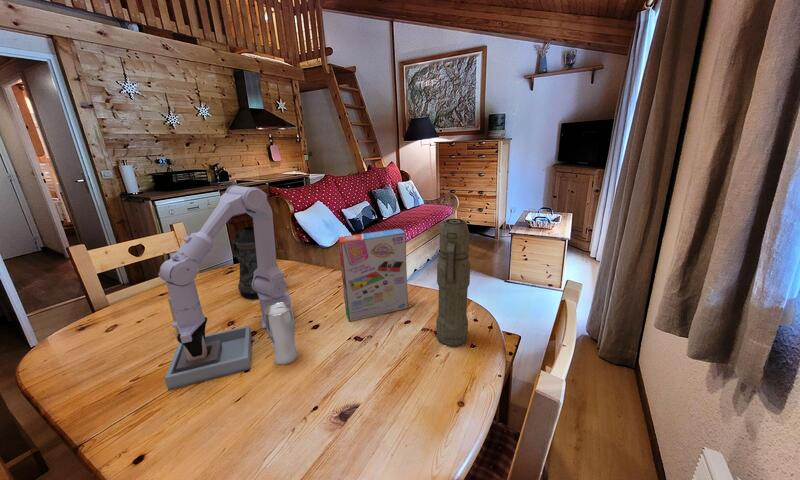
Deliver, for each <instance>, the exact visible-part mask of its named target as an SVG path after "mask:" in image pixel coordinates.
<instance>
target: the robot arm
mask: <svg viewBox="0 0 800 480" xmlns="http://www.w3.org/2000/svg"><path fill="white" fill-rule="evenodd" d="M245 213H246V214H247V215H249V216H250V217H251V218H252V223H253V224H252V225H253V227H254V235H255V245H256V256H257V266H258V268H257V269H256V270H255V271H254V272H253V274H254V277H253V281H252V288H253V290H254V291H255V292H257V294H258V296H259V299H258V301H259V305H260V311H261V329H267V327H266V321H265V309H266V308H267V307H268V306H270V305H272V304H275V303H280V302H286V303H289V304H291V307H292V311H293V314H294V312H295V311H294V307H293V306H292V301H291V299H292V298H291V294H290V291H287V290H288V289H287V288H288V282H287V281H286V279H285V277H284V272H283V271H282V270H281V269H280V267H279V266H278V263H277V255H276V253H277V252H276V242H275V240H276V239H275V229H274V227H275V226H274V217H273V215H274V214H273V208H272V207H271V205H270V203H269V201H268V195H267V193H266V192H265V191H263V190H262V189H260V188H258V187H257V186H251V187H250V186H242V185H241V186H240V185H235V184H234V185H231V186H229V187H228V188H227V189H226V190H225V192H224V193H222V195H221V196H220V199H219V202H218V204H217V205H216V206H215V208H214V210H213V211H212V213H211V214H210V215H209V217H208V218H207V220H206V221H205V222H204V224H203V226H202V227H201V229H200V230H199V231H196V232H192V233H190V235H186V236H184V238H183V241H184V242H183V243H182V245H181V246H180V247H179V248H178V249H177V250H176V251H175V253H172V254H171V256H170V258H169V259H167V260H165V261H164V262H163V263H162V264H161V265H160V268H159V272H158V276H159V278H160V279H161V280H162V281H165V284H166V287H167V290H168V291H167V292H168V295H169V298H170V299H171V303H172V306H173V310H174V313H175V317H176V320H177V321H175V322H174V321H173V322H172V324H171V327H172V328H173V329H174V328H176V327H177V328H178V330H179V332H180V334H177V336H176V340H177V342H178V343H179V342H180V343H181V344H183V345H184V346H185V347H186V348H187V349H188V351H189V352H190V354H191V355H192V357H196V356H200V355H202V336H203V337H204V341H205V335H206V325H207V321H208V317H207V316H205V314H204V313H203V307H202V305H201V300H200V297H199V293H198V289H197V286H196V282H195V279H196V278H197V277H198V268H199V265H200V264H201V263H202V262H203V260H204V259H205V258H206V256H207V255H208V253H209V252H210V251H211V250H212V248H213V247H214V243H213V239H214V238H215V236H216V235H217V234H218V233H219V232H220V231H221V230H222V228H223V227H225V225H226V224H227V223H228V222H229V220H230V219H231V218H232V217H233V216H237V215H242V214H245ZM277 266H278V267H277Z"/></svg>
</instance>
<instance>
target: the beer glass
mask: <svg viewBox="0 0 800 480" xmlns="http://www.w3.org/2000/svg"><path fill="white" fill-rule="evenodd" d="M291 306H292V303H291V304H289V303H286V302H280V303H275V304H272V305H270V306H268V307H267V308H266V309H265V321H266V327H267V328H266V330H267V334H268V337H269V339H270V342H271V344H272V346H273V350H274V351H273V352H274V354H273V360H274V363H276V364H277V365H281V366H282V365H288V364H291V363H292V362H295V360H297V358H298V357H299V354H298V353H299V352H298V351H297V346H296V344H295V337H296V336H295V333H296V324H295V323H296V322H295V317H294V313H293V312H294V310H293V311H292V307H293V306H292V307H291Z"/></svg>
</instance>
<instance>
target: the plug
mask: <svg viewBox="0 0 800 480" xmlns="http://www.w3.org/2000/svg"><path fill="white" fill-rule="evenodd" d="M183 347H184V350H185V353H186V357H187V360H188V362H189V361H193V360H197V359H202V358H206V356H207V352H208V351H207V348H206V344H205V341H204V337H203V336H202V355H200V356H196V357H192V355H191V354H190V352H189V351H188V349H187V348H186V347H185V346H183Z"/></svg>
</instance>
